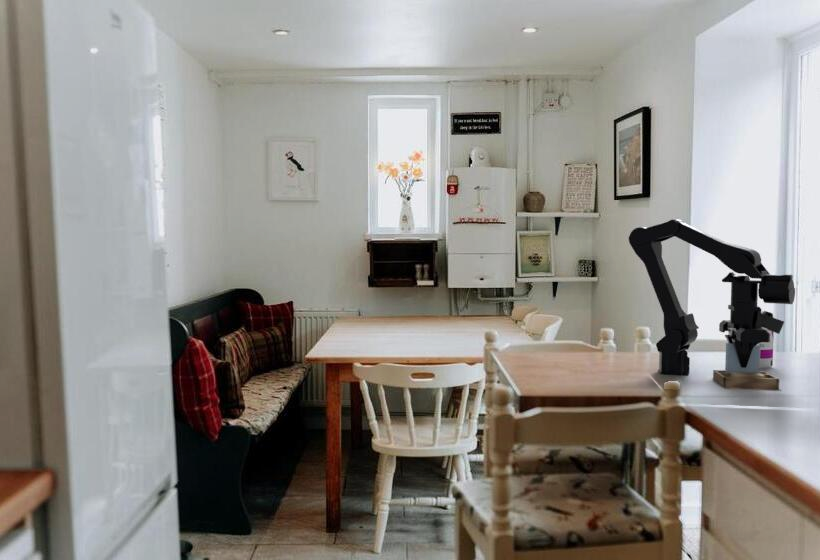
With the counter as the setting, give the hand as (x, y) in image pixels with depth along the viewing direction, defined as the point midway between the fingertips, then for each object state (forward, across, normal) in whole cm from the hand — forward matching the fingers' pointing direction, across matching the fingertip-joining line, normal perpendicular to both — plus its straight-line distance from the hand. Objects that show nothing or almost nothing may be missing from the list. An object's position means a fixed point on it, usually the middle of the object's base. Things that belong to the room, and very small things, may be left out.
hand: (742, 366), depth 162 cm
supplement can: (+4, +23, -10) cm, 25 cm away
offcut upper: (+2, -4, 0) cm, 5 cm away
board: (+4, 0, 0) cm, 4 cm away
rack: (+4, -3, 0) cm, 5 cm away
